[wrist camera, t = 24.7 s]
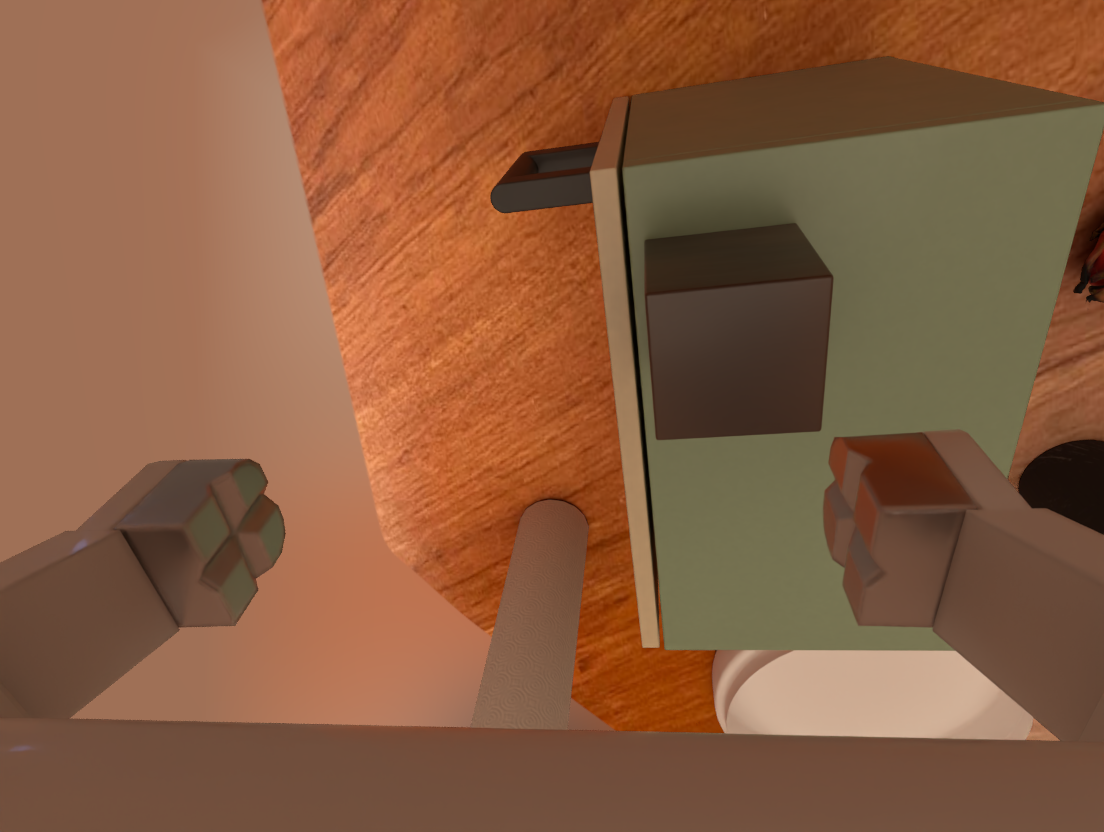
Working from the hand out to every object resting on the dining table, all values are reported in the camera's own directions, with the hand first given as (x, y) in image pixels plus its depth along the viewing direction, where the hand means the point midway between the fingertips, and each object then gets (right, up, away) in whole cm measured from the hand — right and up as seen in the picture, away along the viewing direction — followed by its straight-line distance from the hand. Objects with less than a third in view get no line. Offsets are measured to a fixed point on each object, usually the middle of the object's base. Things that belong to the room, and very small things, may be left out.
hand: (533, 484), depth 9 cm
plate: (+30, -24, +53) cm, 65 cm away
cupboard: (+14, +10, +33) cm, 37 cm away
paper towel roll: (0, -9, +47) cm, 48 cm away
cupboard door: (+3, +9, +35) cm, 37 cm away
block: (+6, +5, +14) cm, 16 cm away
